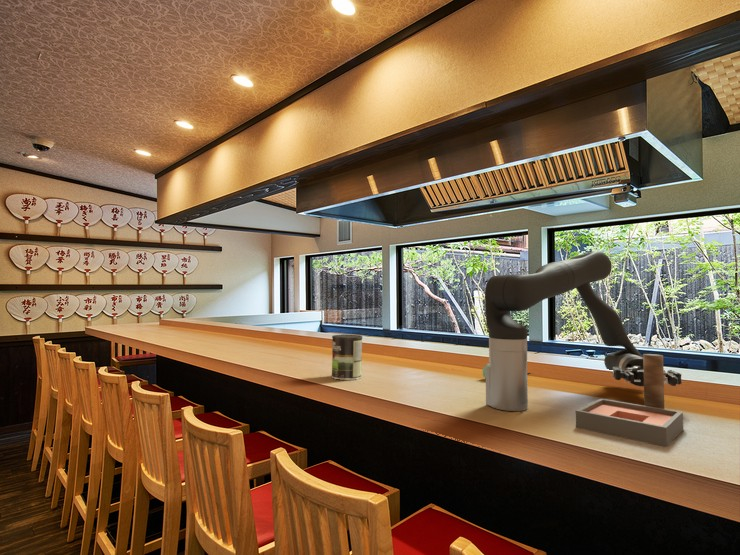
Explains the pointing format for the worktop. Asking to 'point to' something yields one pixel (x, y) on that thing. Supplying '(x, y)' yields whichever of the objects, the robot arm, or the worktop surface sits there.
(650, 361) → the dowel
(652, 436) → the bore box
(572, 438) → the worktop surface
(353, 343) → the coffee can
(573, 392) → the worktop surface
